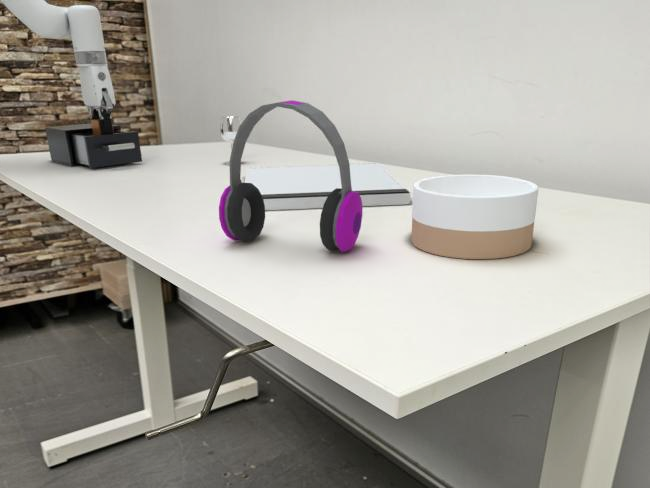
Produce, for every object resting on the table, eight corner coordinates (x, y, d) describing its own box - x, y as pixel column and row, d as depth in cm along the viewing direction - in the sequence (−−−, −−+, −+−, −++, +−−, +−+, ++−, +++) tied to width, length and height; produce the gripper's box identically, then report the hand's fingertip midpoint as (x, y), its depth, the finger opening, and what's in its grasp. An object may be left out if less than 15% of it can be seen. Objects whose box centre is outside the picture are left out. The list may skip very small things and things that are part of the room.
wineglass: (220, 163, 164) (216, 117, 159) (241, 161, 166) (237, 115, 161) (226, 166, 159) (222, 118, 154) (247, 164, 161) (244, 117, 156)
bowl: (533, 263, 79) (541, 199, 75) (402, 255, 83) (404, 194, 80) (530, 230, 94) (536, 175, 91) (419, 225, 98) (421, 172, 95)
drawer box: (125, 160, 173) (120, 125, 170) (71, 167, 164) (64, 130, 160) (103, 156, 183) (98, 122, 179) (51, 162, 174) (44, 127, 170)
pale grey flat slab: (410, 191, 111) (241, 198, 109) (410, 204, 112) (242, 211, 110) (378, 162, 143) (246, 167, 141) (378, 173, 144) (247, 178, 142)
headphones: (215, 247, 89) (201, 103, 81) (246, 232, 97) (236, 99, 89) (346, 261, 81) (344, 103, 74) (368, 244, 89) (369, 99, 81)
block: (99, 136, 159) (97, 120, 157) (93, 135, 162) (90, 119, 160) (114, 134, 161) (111, 119, 160) (107, 133, 164) (105, 118, 163)
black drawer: (150, 163, 162) (146, 132, 159) (98, 169, 153) (93, 137, 150) (120, 157, 174) (115, 128, 171) (70, 163, 165) (64, 133, 162)
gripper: (119, 59, 151) (131, 135, 158) (91, 60, 162) (103, 131, 169) (90, 59, 146) (103, 138, 153) (63, 60, 158) (77, 134, 165)
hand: (103, 134), depth 161 cm, fingers closed on block, 4 cm apart
